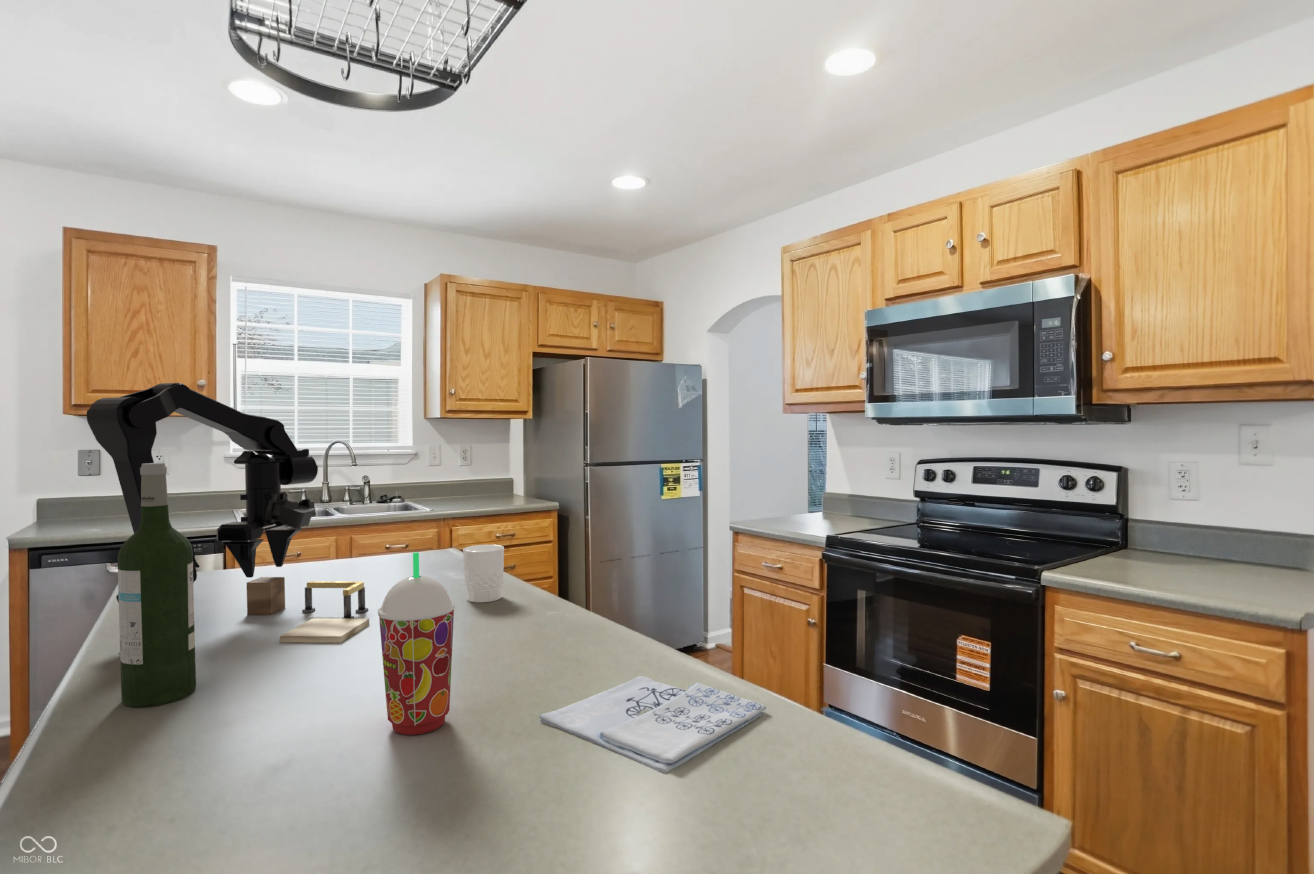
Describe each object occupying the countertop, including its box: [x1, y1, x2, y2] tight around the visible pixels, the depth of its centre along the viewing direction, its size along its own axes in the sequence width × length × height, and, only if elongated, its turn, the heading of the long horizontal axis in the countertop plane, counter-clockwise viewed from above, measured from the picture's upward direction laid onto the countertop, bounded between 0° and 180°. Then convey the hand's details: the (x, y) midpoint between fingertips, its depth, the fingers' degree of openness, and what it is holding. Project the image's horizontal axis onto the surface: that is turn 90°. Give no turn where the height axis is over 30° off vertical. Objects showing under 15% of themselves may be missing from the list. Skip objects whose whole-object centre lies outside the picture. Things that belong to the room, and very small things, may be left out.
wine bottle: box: [116, 462, 197, 708], centre depth 92 cm, size 8×8×30 cm
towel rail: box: [301, 580, 369, 619], centre depth 129 cm, size 7×12×6 cm, turn 88°
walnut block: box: [246, 576, 286, 616], centre depth 133 cm, size 4×4×6 cm
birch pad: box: [279, 617, 370, 644], centre depth 119 cm, size 10×10×1 cm
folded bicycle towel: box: [539, 675, 767, 774], centre depth 85 cm, size 19×20×2 cm
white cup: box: [462, 544, 505, 603], centre depth 141 cm, size 8×8×10 cm
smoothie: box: [377, 551, 456, 736], centre depth 82 cm, size 8×8×20 cm
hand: (265, 571), depth 132 cm, fingers open, 9 cm apart
